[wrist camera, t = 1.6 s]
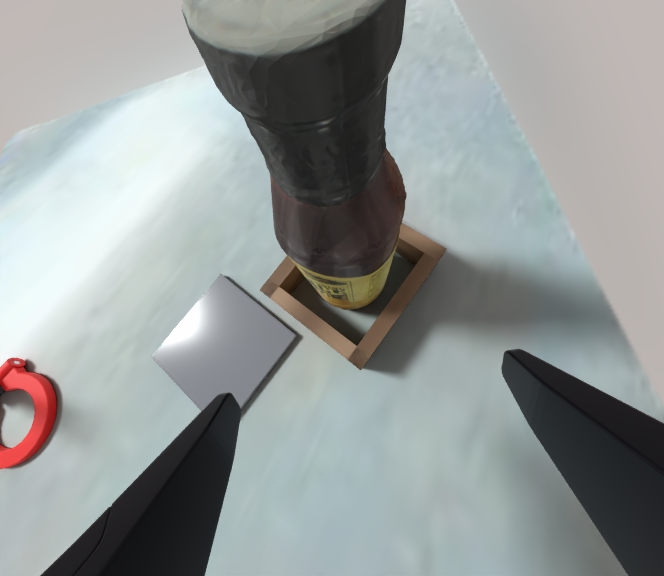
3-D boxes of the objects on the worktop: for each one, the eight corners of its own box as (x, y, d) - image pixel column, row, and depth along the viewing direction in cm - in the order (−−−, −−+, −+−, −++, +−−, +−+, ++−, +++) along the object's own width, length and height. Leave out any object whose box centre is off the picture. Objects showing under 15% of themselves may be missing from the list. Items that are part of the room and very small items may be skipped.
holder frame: (437, 262, 22) (447, 248, 20) (362, 368, 21) (360, 370, 18) (344, 207, 25) (340, 189, 22) (272, 297, 24) (259, 289, 21)
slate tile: (297, 335, 23) (295, 335, 22) (224, 431, 21) (221, 432, 21) (223, 275, 25) (220, 273, 25) (155, 356, 24) (151, 356, 24)
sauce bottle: (305, 274, 24) (61, -31, 5) (358, 236, 24) (309, -193, 5) (346, 329, 22) (190, 170, 3) (402, 288, 22) (576, -98, 3)
